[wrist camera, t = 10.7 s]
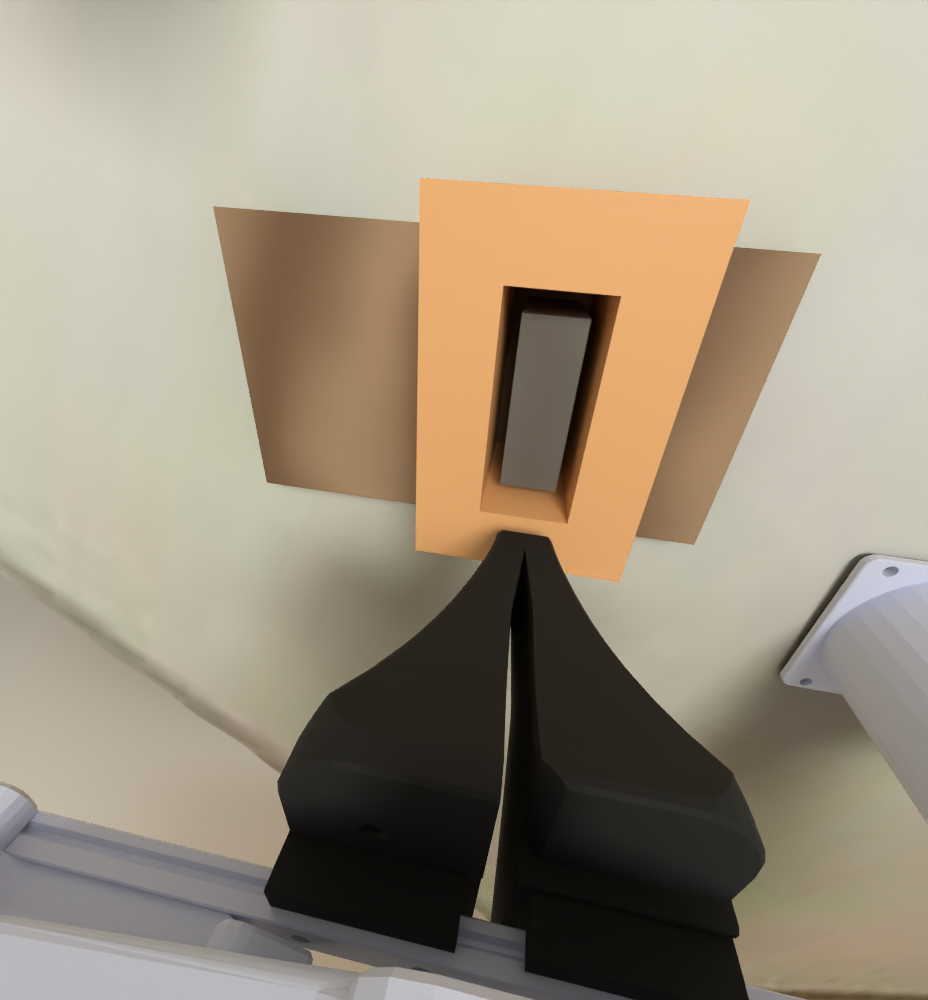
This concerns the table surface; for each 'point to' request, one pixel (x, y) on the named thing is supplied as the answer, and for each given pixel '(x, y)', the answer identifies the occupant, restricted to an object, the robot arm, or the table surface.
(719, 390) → the brown piece
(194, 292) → the table surface
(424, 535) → the collar
